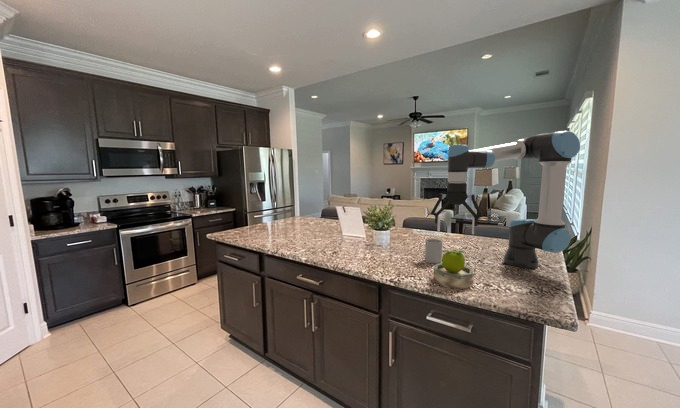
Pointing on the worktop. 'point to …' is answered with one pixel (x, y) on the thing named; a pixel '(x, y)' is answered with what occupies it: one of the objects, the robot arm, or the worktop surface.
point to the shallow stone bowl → (453, 277)
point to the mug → (433, 251)
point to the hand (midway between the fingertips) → (455, 232)
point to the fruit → (453, 261)
